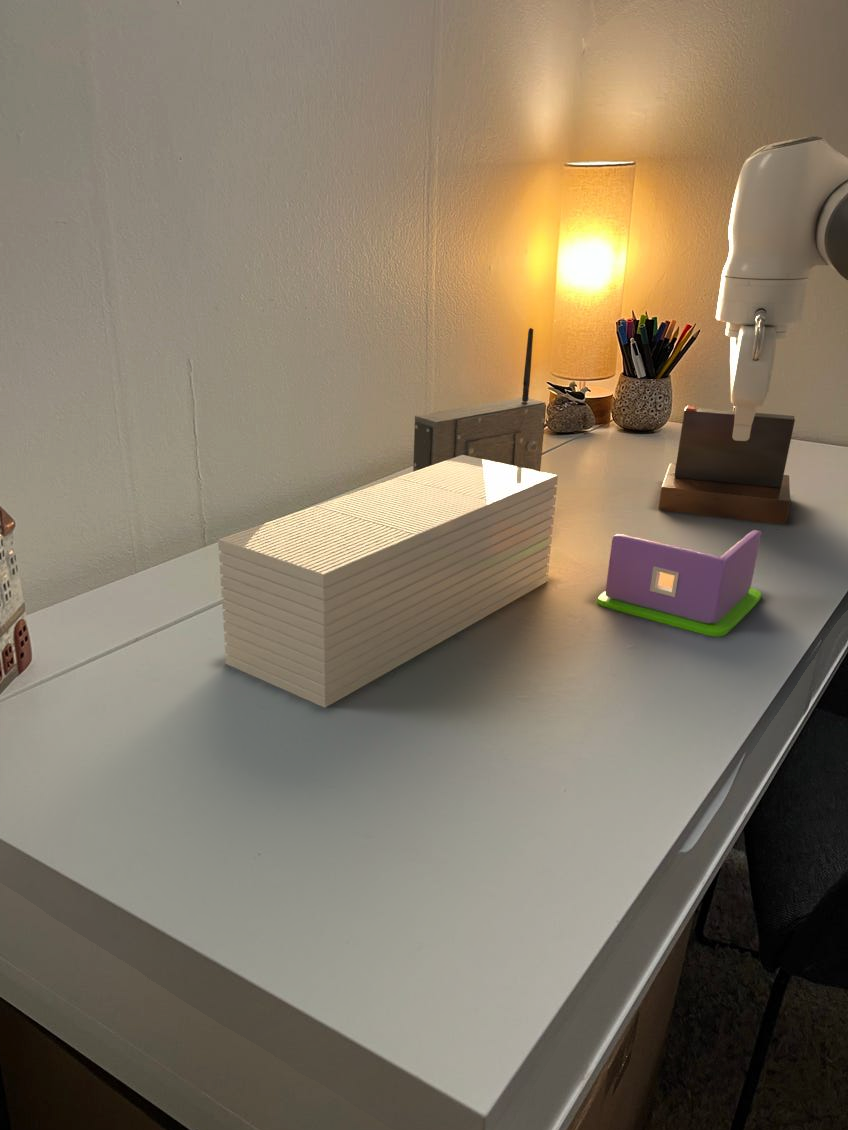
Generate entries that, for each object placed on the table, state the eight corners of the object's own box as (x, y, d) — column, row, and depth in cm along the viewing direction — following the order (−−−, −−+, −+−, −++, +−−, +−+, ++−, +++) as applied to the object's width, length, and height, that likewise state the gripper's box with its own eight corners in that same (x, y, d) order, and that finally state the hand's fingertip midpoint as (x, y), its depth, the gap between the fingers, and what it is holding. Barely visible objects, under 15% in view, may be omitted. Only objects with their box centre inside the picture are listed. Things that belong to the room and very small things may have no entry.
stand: (784, 498, 118) (789, 475, 116) (785, 526, 108) (790, 500, 107) (666, 485, 122) (670, 462, 121) (657, 511, 113) (661, 486, 111)
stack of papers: (324, 710, 70) (323, 574, 66) (226, 666, 77) (218, 539, 72) (547, 583, 93) (557, 475, 88) (456, 557, 99) (462, 454, 94)
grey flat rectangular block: (780, 483, 113) (794, 413, 109) (780, 488, 111) (795, 417, 108) (675, 472, 116) (685, 404, 113) (674, 477, 115) (684, 408, 111)
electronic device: (514, 488, 120) (527, 323, 112) (554, 502, 116) (571, 330, 107) (408, 514, 111) (413, 336, 102) (447, 530, 106) (456, 344, 97)
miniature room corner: (721, 641, 81) (735, 566, 78) (591, 605, 88) (600, 535, 85) (764, 597, 90) (779, 528, 87) (643, 567, 96) (653, 502, 93)
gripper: (796, 317, 95) (772, 454, 101) (786, 295, 113) (766, 413, 119) (729, 315, 97) (709, 449, 103) (729, 294, 114) (712, 410, 120)
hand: (739, 429), depth 111 cm, fingers open, 8 cm apart
